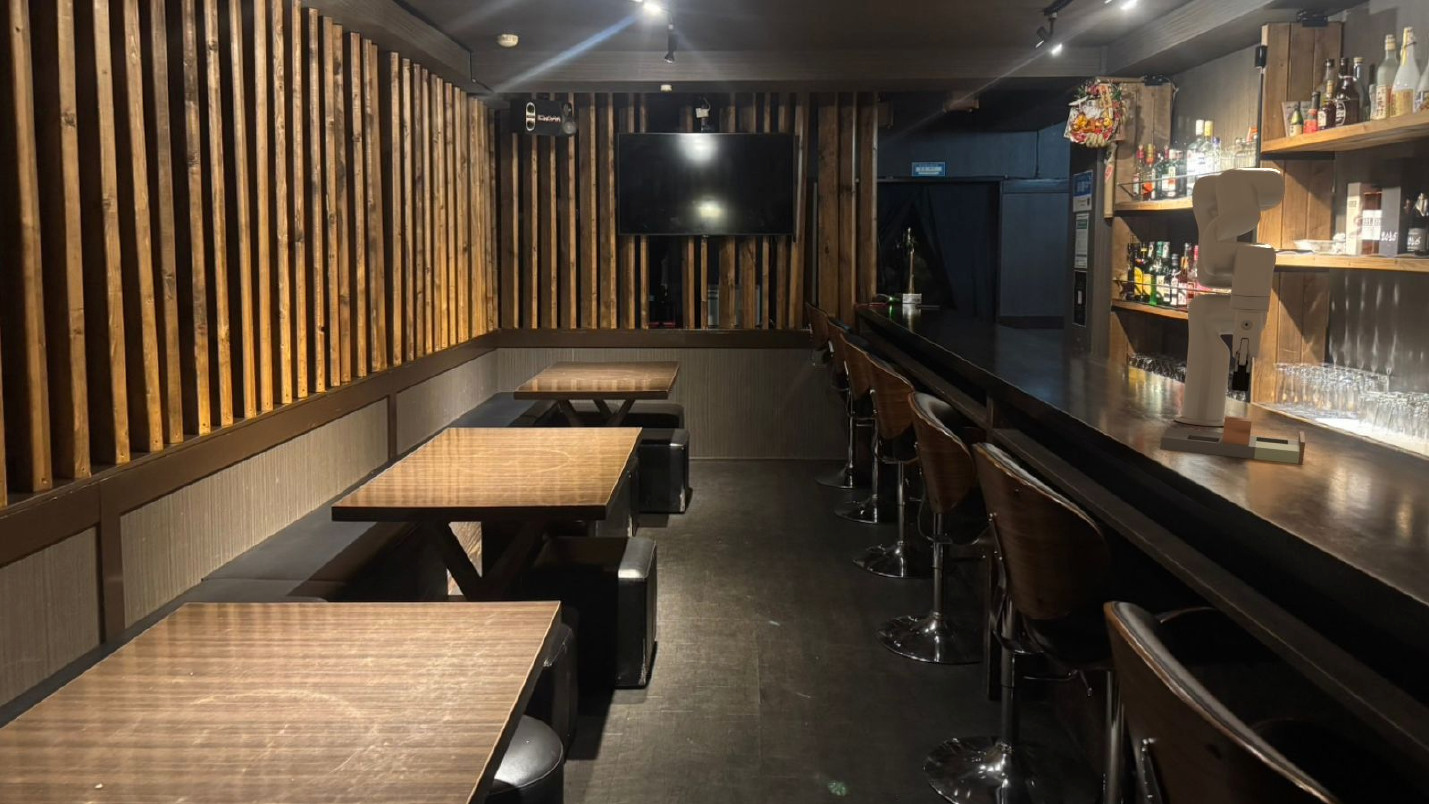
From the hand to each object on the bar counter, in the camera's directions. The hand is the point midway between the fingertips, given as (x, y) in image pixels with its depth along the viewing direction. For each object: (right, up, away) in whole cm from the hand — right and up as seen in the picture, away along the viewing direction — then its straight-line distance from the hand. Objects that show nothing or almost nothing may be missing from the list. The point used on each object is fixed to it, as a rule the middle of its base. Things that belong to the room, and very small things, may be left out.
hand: (1239, 390), depth 236 cm
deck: (-2, -13, 0) cm, 13 cm away
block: (-3, -11, -4) cm, 12 cm away
